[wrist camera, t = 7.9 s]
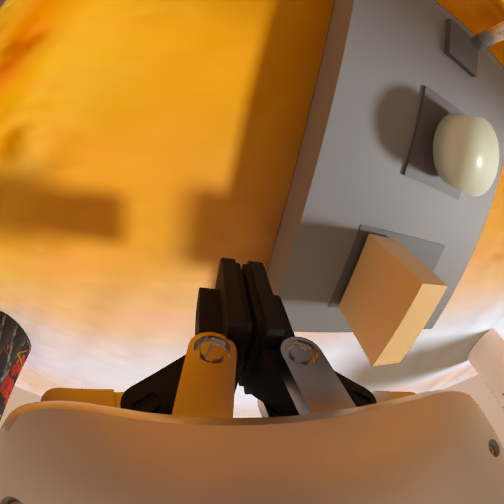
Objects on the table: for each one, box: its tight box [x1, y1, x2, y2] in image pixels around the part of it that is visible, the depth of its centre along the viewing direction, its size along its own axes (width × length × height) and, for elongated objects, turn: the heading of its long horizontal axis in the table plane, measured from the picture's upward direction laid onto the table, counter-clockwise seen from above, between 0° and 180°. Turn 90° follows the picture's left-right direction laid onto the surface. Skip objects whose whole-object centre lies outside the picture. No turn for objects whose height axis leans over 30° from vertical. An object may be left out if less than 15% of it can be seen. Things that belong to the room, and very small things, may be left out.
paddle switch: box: [338, 234, 448, 366], centre depth 13 cm, size 5×2×5 cm, turn 168°
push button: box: [433, 113, 499, 197], centre depth 11 cm, size 4×4×2 cm
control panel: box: [267, 0, 504, 332], centre depth 14 cm, size 24×16×4 cm, turn 168°
